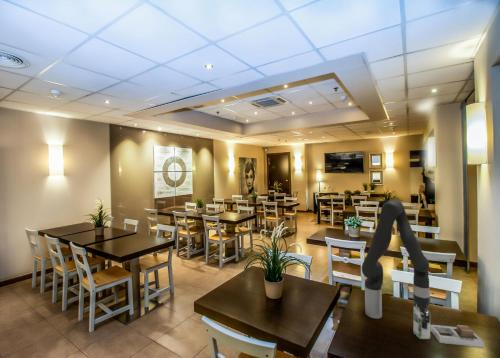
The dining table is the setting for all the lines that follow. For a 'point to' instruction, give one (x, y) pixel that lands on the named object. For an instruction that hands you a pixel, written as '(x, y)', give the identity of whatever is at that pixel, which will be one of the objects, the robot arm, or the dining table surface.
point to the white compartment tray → (454, 336)
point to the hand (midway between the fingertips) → (421, 324)
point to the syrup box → (420, 325)
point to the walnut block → (465, 331)
